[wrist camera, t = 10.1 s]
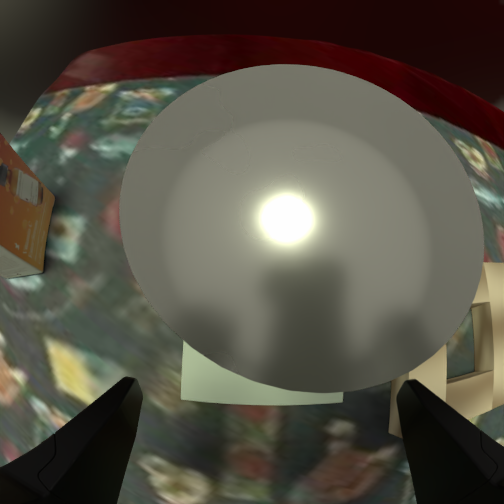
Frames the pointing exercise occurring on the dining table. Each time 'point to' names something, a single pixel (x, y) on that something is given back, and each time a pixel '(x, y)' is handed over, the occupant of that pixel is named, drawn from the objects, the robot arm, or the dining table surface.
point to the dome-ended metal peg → (302, 228)
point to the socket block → (485, 351)
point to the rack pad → (237, 386)
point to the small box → (21, 216)
